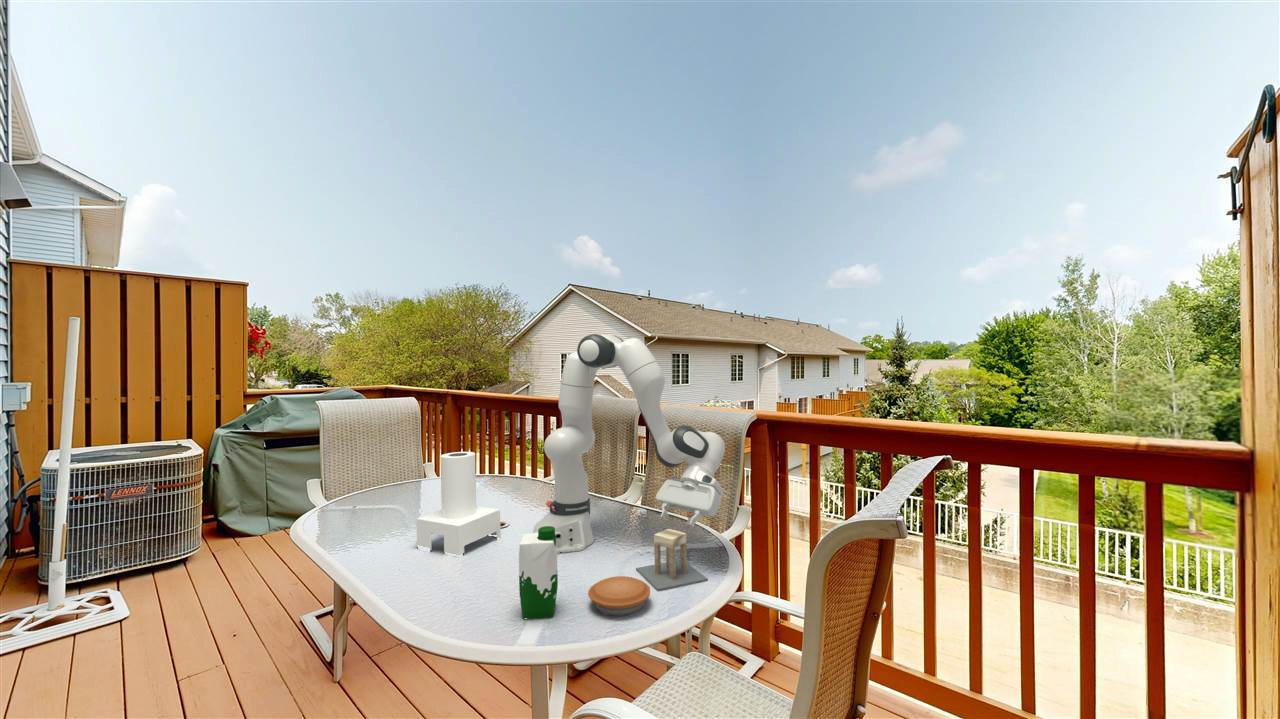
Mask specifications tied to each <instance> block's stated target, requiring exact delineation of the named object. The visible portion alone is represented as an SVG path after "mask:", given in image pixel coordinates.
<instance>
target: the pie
mask: <svg viewBox="0 0 1280 719" xmlns="http://www.w3.org/2000/svg"><path fill="white" fill-rule="evenodd" d="M650 594H651V587H650V585H648V584H647V583H646V582H644V581H643V580H641V579H638V578H635V577H632V576H627V575H626V576H625V575H624V576H622V575H620V576H619V575H618V576H617V575H616V576H612V577H611V576H610V577H607V578H604V579H601V580H599V581H597V582H595V583H594V584H593V585H591V587H590V588H588V591H587V596H588V597H589V599H590V601H591V602H593V604H594V606H595V607H596V609H597V610H598V611H599V612H601V613H602V614H604V615H607V616H613V617H621V616H629V615H632V614H635V613H636V612H638V611H640V610H641V608H642V607H643V605H644V604H645V603H646V600H647V599H648V598H649V596H651V595H650Z"/></svg>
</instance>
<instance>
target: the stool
mask: <svg viewBox="0 0 1280 719" xmlns="http://www.w3.org/2000/svg"><path fill="white" fill-rule="evenodd" d="M653 541H654V544H653V545H654V548H653V551H654V552H653V553H654V565H655V574H657V575H659V574H661V563H662V561H661V558H662V557H661V546H662V547H664V548H665V555H666V556H665V557H666V558H665V562H666V568H668V569H669V575H670V579H671V580H674V579H676V567H675V561H676V548H678V547H679V546H680V547H679V548H680V560H681V573H684V574H685V573H687V563H688V559H687V558H688V557H687V555H688V554H687V552H688V551H687V533H686V532H684V531H683V532H682V531H679V530H675V529H670V528H667V529H664V530H662V531H659V532H657V533H655V534H654V535H653Z"/></svg>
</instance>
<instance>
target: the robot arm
mask: <svg viewBox="0 0 1280 719" xmlns="http://www.w3.org/2000/svg"><path fill="white" fill-rule="evenodd" d="M616 367H618V368H619V369H620V370H621V371H622V372H623V375H624V377H625V378H626V380H627V382H628V384H629V385H630V388H631V390H632V392H633V394H634V397H635V400H636V403H637V406H638V409H639V410H640V411H639V412H640V413H641V416H642V418H643V420H644V423H645V425H646V427H647V429H648V432H649V434H650V436H651V438H652V441H653V444H654V453H655V456H656V458H657V460H658V461H659V462H660V464H662V465H663V466H664V467H667V468H672V469H673V468H677V467H679V466H681V465H682V464H683V463H686V467H685V469H684V471H682V472H683V473H682V475H681V476H680V477H675V476H671V477H670V478H666V480H665V481H664V483H663V484H662V485H661V487H660V488H659V489H658V491H657V493H656V495H655V500H656V501H657V503H658V504H659V505H660V506H661V507H662V508H661V509H662V512H661V514H660V518H661V520H662V521H663V520H664V521H668V519H669V516H670V514H668V511H669V510H670V509H671V508H672V509H676V510H681V511H685V512H690V513H694V515H693V516H692V517H688V519H687V521H686V525H687V526H689V527H690V528H694V526H695V525H696V523H697V522H698V521H699V520H701V519H702V518H703V516H706V517H714V516H715V515H717V513H718V511H719V509H720V505H721V502H722V496H723V495H724V492H725V491H724V489H723V487H722V486H721V484H720V483H719V481H717V479H716V478H715V474H716V472H717V470H718V469H719V467H720V465H721V464H722V460H723V459H724V455H725V452H726V444H725V441H724V440H723V438H722V437H721V436H720V435H718V434H717V433H715V432H713V431H701V430H697V429H695V428H694V427H692V426H689V425H680V426H678V427H677V428H675V429H674V430H671V429H670V427H669V425H668V422H667V420H666V418H665V416H664V414H663V412H662V409H661V397H662V394H663V391H664V388H665V383H666V380H665V376H664V373H663V370H662V368H661V366H660V365H659V363H658V360H656V357H655V356H654V355H653V353H652V352H651V351H650V349H649V348H648V347H647V345H646V344H644V342H643V341H642V339H639V338H636V337H631V338H628V339H625V340H623V339H622V338H620V337H619V336H617V335H612V334H609V333H601V334H597V333H593V334H589V335H586V336H584V337H583V338H582V339H581V340H580V341H579V342H578V345H577V350H576V351H574V352H572V353H570V354H568V355H567V356H566V359H565V361H564V366H563V369H562V374H561V380H560V388H559V398H558V409H559V411H560V413H561V414H560V415H561V421H562V422H561V423H562V425H561V427H560V428H557V429H555V430H553V431H552V432H551V433H550V434H549V435H548V436H547V437H546V439H545V441H544V444H543V449H544V450H543V451H544V453H545V455H546V457H547V458H548V459H549V461H550V464H551V468H552V471H553V475H554V476H553V477H554V492H555V493H554V494H555V495H554V497H555V498H554V500H553V501H551V500H550V499H549V500H546V502H545V505H546V507H547V508H549V512H548V513H547V514H546V515H545V516H543V518H542V519H540V520H539V521H538V522H536V523H535V525H534V528H533V530H532V533H536V532H538V529H539V528H541V527H545V526H552V527H554V528H555V533H556V546H557V554H560V552H562V553H571V551H572V552H582V551H583V550H585V549H586V548H587V547H589V546H590V545H592V544H593V543H594V541H595V537H594V533H593V530H592V526H591V519H590V518H591V517H590V516H591V501H590V499H591V498H589V476H588V473H587V471H586V470H585V467H584V463H583V462H584V461H583V455H584V454H586V453H588V452H589V451H590V450H591V448H592V447H593V445H594V443H595V442H596V433H595V430H594V428H593V416H592V415H593V414H592V409H593V408H592V406H593V396H594V389H595V388H594V386H595V379H596V376H597V375H596V373H597V372H598V371H599V370H600V369H603V370H605V369H610V368H616Z"/></svg>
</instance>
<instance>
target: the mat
mask: <svg viewBox="0 0 1280 719" xmlns="http://www.w3.org/2000/svg"><path fill="white" fill-rule="evenodd" d="M675 567H676V579H674V580H671V579H670V575H669V569H668V568H666V561H665V562H661V574H659V575H657V574H655V564H650V565H645V566H640V567H639V566H638V567H636V568H635V570H636V572H637V573H638V574H639V575H640V576H641V577H642V578H644V579H645V581H646V582H647V583H649V585H651V586H652V587H653V588H654V590H656V592H660V591H661V592H662V591H667V590H672V589H675V588H679V587H686V586H689V585H696V584H699V583H705V582H708V580H709V578H708V577H706V576H705V575H704V574H703V573H701V572H700V571H699V570H697V569H696V568H695V567H693V566H692V565H691V564H689V563H688V562H687V573H685V574H684V573H681V559H675Z"/></svg>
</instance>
